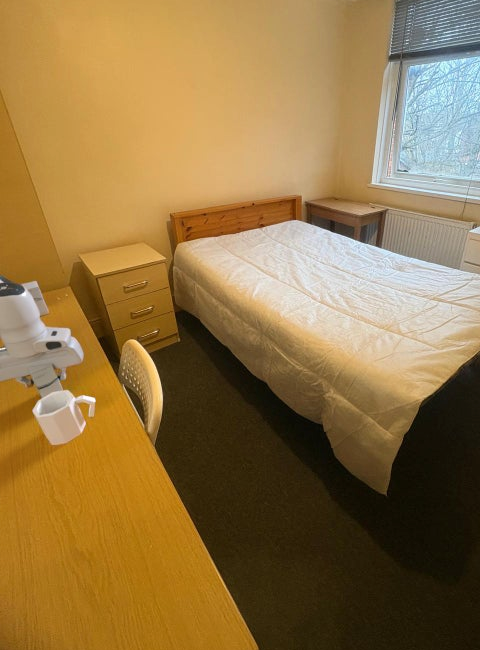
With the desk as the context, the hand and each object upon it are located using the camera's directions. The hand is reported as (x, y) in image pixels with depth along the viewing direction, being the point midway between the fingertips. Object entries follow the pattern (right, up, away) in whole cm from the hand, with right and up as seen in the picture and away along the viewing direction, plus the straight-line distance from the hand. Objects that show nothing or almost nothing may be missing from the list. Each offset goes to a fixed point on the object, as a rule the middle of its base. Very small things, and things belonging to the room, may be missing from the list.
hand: (47, 382), depth 89 cm
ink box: (0, -4, +2) cm, 5 cm away
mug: (+12, -10, -6) cm, 17 cm away
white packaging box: (-37, +16, +41) cm, 57 cm away
